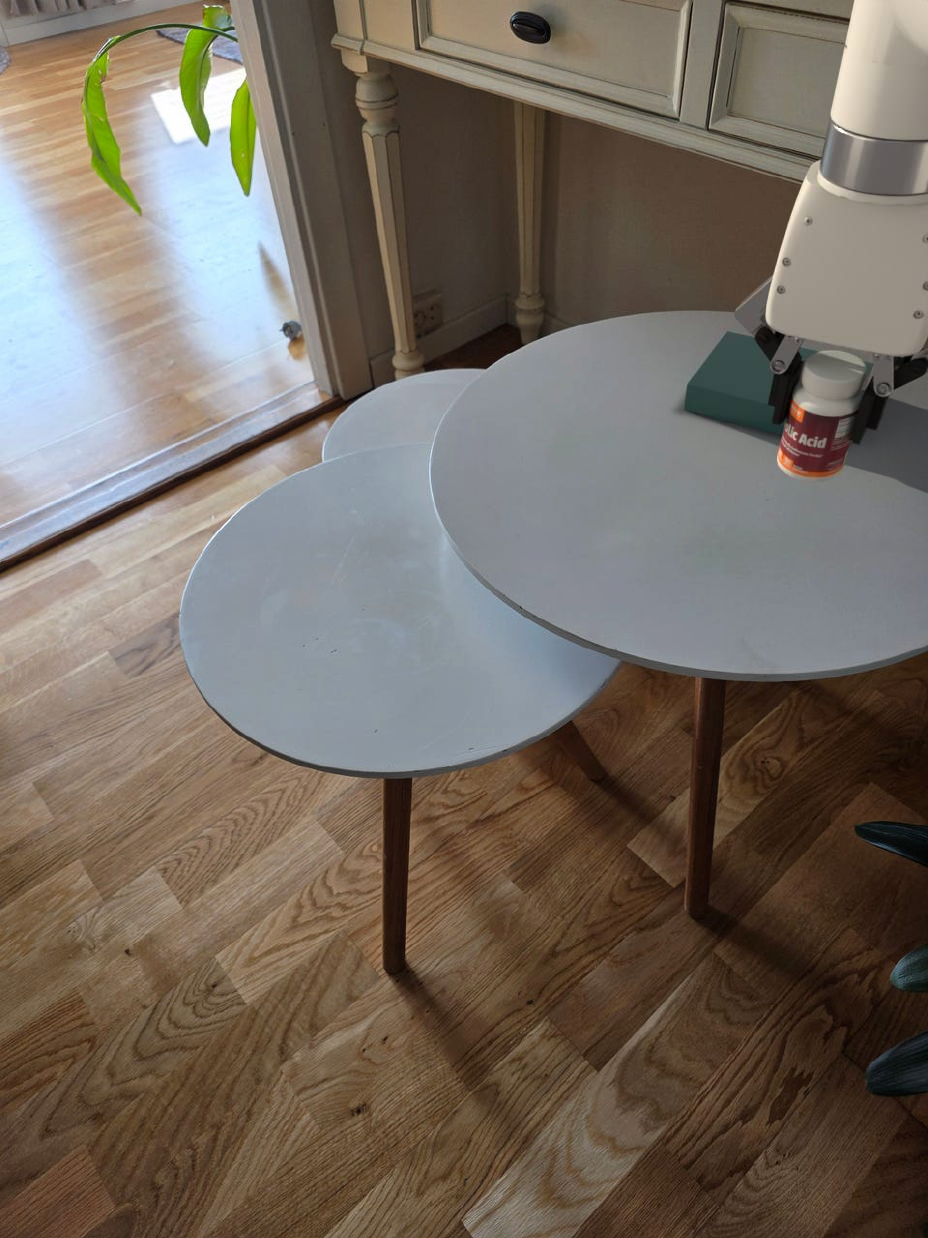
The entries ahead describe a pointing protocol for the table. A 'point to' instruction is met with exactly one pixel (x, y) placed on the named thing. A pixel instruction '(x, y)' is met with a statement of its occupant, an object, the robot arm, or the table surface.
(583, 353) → the table surface
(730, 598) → the table surface
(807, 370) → the pill bottle
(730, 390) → the teal rectangular block
